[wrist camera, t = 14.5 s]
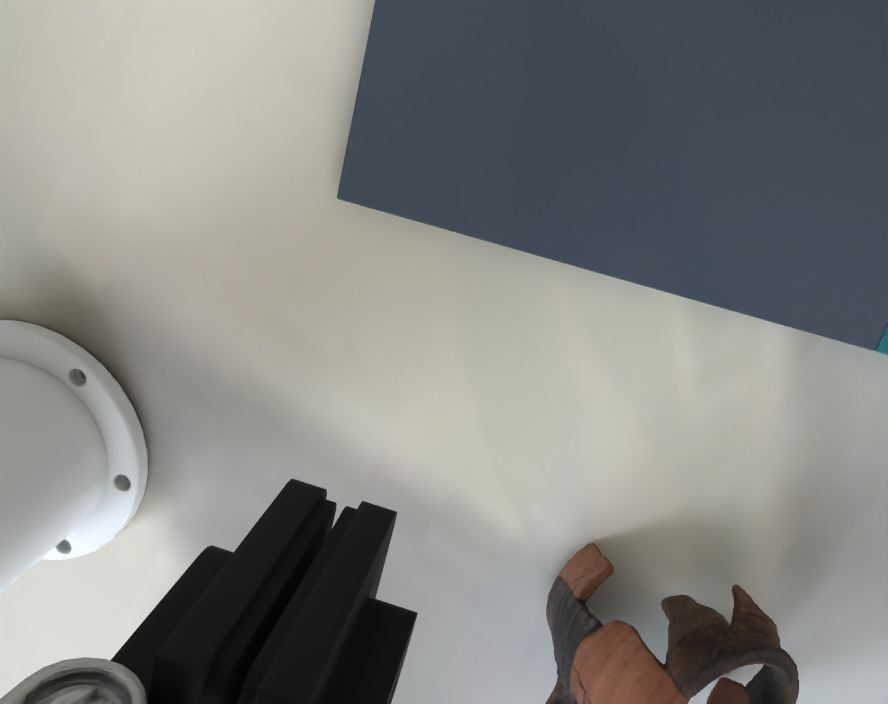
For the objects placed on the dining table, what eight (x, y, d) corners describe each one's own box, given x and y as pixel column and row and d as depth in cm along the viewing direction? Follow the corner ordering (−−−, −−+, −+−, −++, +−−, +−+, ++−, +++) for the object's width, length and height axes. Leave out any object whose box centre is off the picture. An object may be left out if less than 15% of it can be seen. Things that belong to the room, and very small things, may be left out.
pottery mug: (615, 480, 35) (738, 601, 28) (728, 556, 40) (858, 676, 33) (450, 680, 36) (528, 845, 29) (579, 731, 41) (673, 882, 34)
